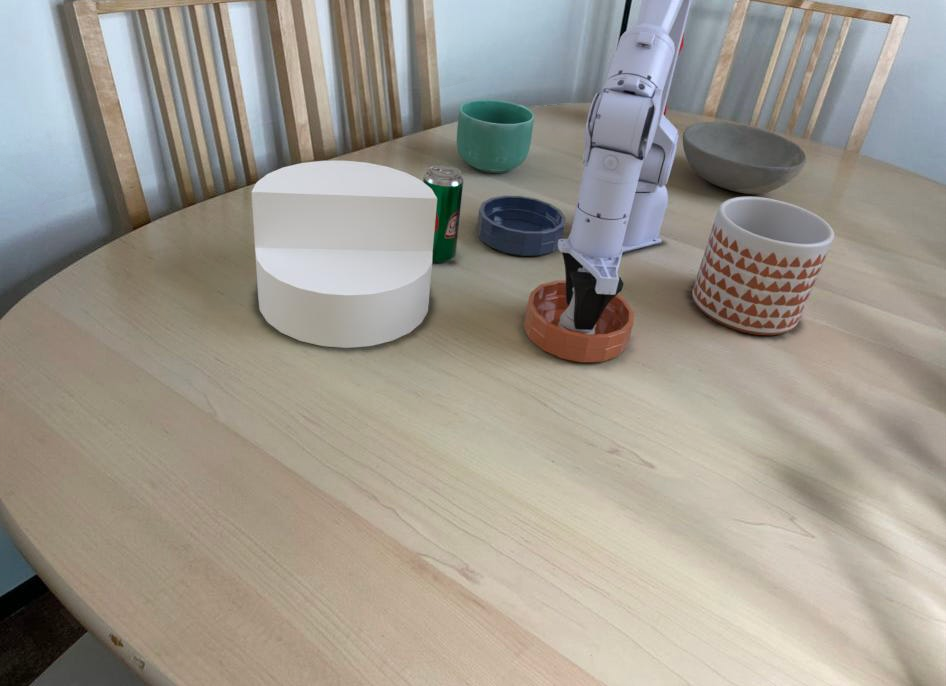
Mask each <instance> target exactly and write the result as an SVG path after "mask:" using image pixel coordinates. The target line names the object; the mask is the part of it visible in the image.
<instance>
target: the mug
mask: <svg viewBox="0 0 946 686" xmlns="http://www.w3.org/2000/svg"><path fill="white" fill-rule="evenodd" d="M534 121H535V114H534V113H533V112H532V110H530V109H528V107H527V106H525V105H523V104H516V103H514V102H509V101H505V100H497V99H476V100H475V99H474V100H470V101H466V102H464V103H462V104H461V105H460V107H459V111H458V117H457V128H456V129H457V130H456V146H457V147H456V148H457V153H458V154H459V156H460V158H461V159H462V160H463V161H464V162H465V163H467V164H468V165H470V166H471V167H472V168H473V169H475V170H478V171H480V172H485V173H490V174H501V173H502V174H503V173H506V172H509V171H510V170H513V169H515V168H517V167H519V166H521V165H522V164H523V163H524V161H525V160H526V159H527V157H528V155H529V152H530V147H531V143H532V137H533V129H534Z"/></svg>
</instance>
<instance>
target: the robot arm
mask: <svg viewBox="0 0 946 686" xmlns="http://www.w3.org/2000/svg"><path fill="white" fill-rule="evenodd" d="M692 2H693V0H641V3H640V8H639V11H638V12H639V13H638V17H637V22H636V25H635V26H633V27H630V28H629V29H627V30H625V31H624V32H623V33H622V35H621V36H620V38H619V40H618V44H617V47H616V50H615V53H614V56H613V59H612V62H611V65H610V68H609V71H608V74H607V77H606V79H605V80H606V81H605V82H604V86H603V89H602V92H601V93H600V92H596V93H595V95H594V97H593V99H592V102H591V103H590V106H589V109H588V113H587V118H586V122H585V128H584V129H585V130H584V148H583V149H584V150H583V155H582V162H581V163H582V164H583V165H584V167H583V170H582V175H581V180H580V185H579V190H578V195H577V199H576V203H575V204H576V206H575V210H574V215H573V219H572V225H571V230H570V233H569V235H568V238H562V239H559V240H558V248H557V249H558V251H559V252H560V253H561V254H562V258H563V263H564V272H565V280H566V301H567V305H570V302H571V300H572V297H573V293H574V294H575V305H574V326H575V329H583V330H593V328H594V327H595V325H596V323H597V321H598V320H599V318H600V316H601V314H602V312H603V311H604V309H605V308H606V306H607V305H608V303H609V302H610V301H611V300H612V299H613V298H614V297H615V296H616V295H619V293H621V292H622V291H623V289H624V286H625V285H624V281H623V279H622V277H621V276H619V275H618V272H619V269H620V264H621V260H622V255H623V253H626V252H631V251H635V250H638V249H641V248H645V247H650V246H654V245H658V244H662V243H663V242H662V241H663V239H662V238H660V237H659V235H660V231H661V227H662V224H663V220H664V217H665V213H666V210H667V207H668V202H669V201H668V200H669V196H668V189H667V187H666V185H667V183H668V181H669V177H670V174H671V171H672V168H673V164H674V161H675V160H674V159H675V156H676V152H677V149H678V147H677V145H678V141H679V137H680V134H678V133H679V130H678V129H677V127H675V125H674V124H673V123H672V122H671V121H670V120H669V119H668V117H666V115H665V116H664V110H665V106H666V102H668V97H669V94H670V90H671V85H672V81H673V77H674V73H675V69H676V66H677V61H678V58H679V56H678V53H679V49H680V45H681V41H682V37H683V33H684V34H685V28H686V24H687V20H688V18H689V17H688V16H689V12H690V9H691V5H692ZM677 57H678V58H677ZM583 267H585V268H586V269H587V270H588V271H589V273H588V272H578V269H579V268H581V269H582V268H583ZM581 271H582V270H581ZM573 287H574V292H573Z"/></svg>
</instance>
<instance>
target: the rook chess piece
mask: <svg viewBox="0 0 946 686" xmlns="http://www.w3.org/2000/svg"><path fill="white" fill-rule="evenodd" d="M581 270H582V271H581ZM578 272H588V273H589V271H588V270H587V269H586V268H585V267H583V268H582V269H581V268H579V269H578ZM573 292H574V287H573ZM574 305H575V294H574V293H573V297H572V300H571V302H570V305H569V307H568V308H567V309H566V310H565V311H564V312H563V313H562V315H561V316H560V322H559V323H558V327H561V328H563V329H565V330H568V331H572V332H577V333H582V334H588V335H590V334H595V327H596V325H595V327H594V328H593V330H583V329H575V326H574Z"/></svg>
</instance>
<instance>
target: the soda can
mask: <svg viewBox="0 0 946 686" xmlns="http://www.w3.org/2000/svg"><path fill="white" fill-rule="evenodd" d="M422 182H424V183H425V184H426V185H427V186H429V187H430V188H431V189H432V190H433V192H434V194H435V196H436V197H437V208H436V219H435V230H434V242H433V256H432V263H434V264H443V263H448V262H450V261H451V260H452V259H454V258H455V257H456V255H457V247H458V246H457V245H458V238H459V237H458V236H459V227H460V218H461V209H462V199H463V190H464V178H463V177H462V171H461V170H460V169H459V168H457V167H455V166H452V165H447V164H435V165H430V166H429V167H427V169H426V173H425V174H424V176H423V180H422Z"/></svg>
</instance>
